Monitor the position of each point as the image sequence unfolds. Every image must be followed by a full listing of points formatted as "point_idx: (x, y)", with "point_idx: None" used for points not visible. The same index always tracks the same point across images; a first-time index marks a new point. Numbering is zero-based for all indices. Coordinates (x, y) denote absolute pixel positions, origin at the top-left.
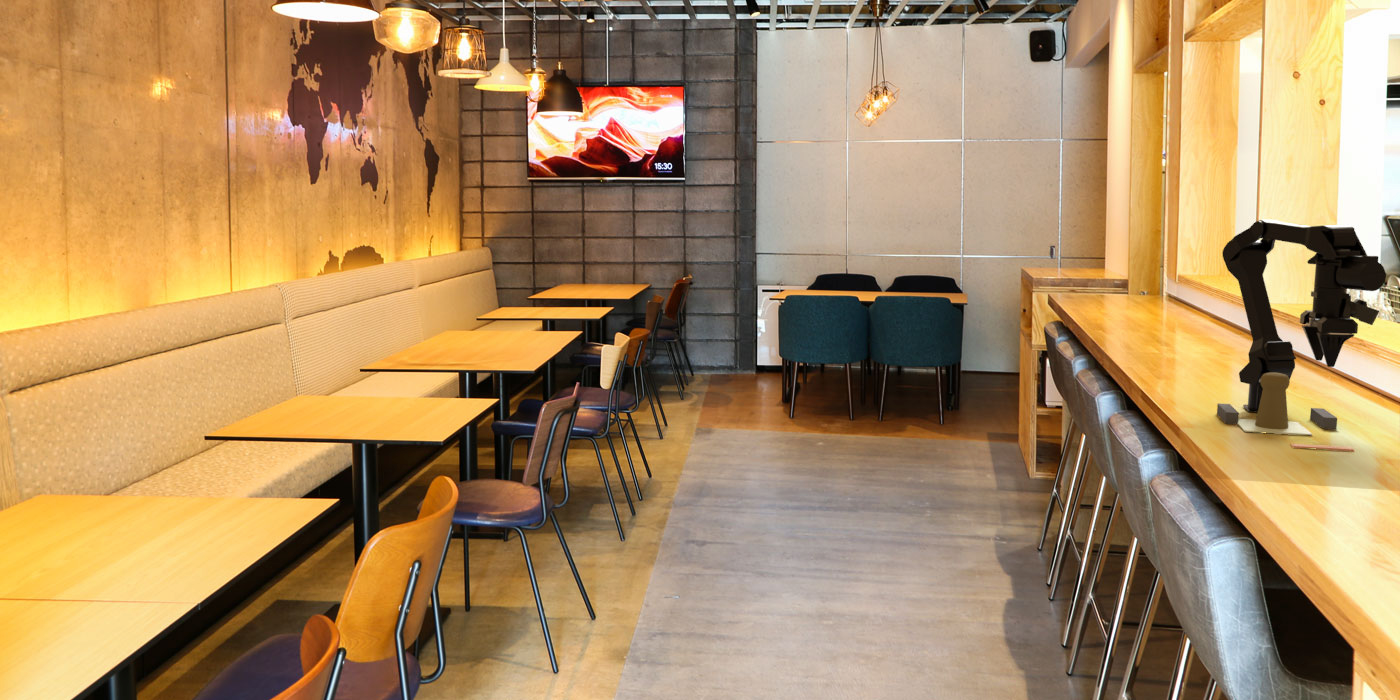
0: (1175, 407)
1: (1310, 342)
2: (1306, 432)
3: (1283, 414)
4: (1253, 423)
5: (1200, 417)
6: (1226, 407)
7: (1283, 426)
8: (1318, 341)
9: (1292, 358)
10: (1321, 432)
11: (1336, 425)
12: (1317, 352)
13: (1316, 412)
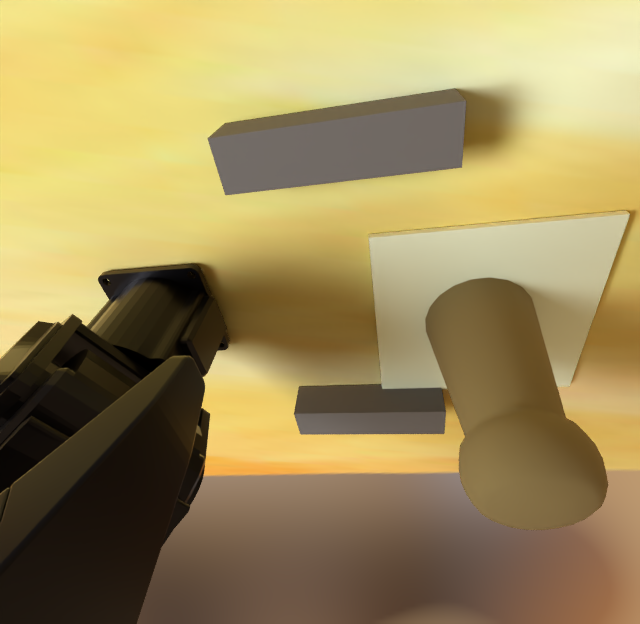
0: (258, 459)
1: (143, 594)
2: (592, 231)
3: (540, 332)
4: None
5: (367, 436)
6: (359, 425)
7: (530, 300)
8: (95, 583)
9: (56, 436)
10: (532, 164)
11: (459, 93)
12: (174, 447)
13: (323, 182)
